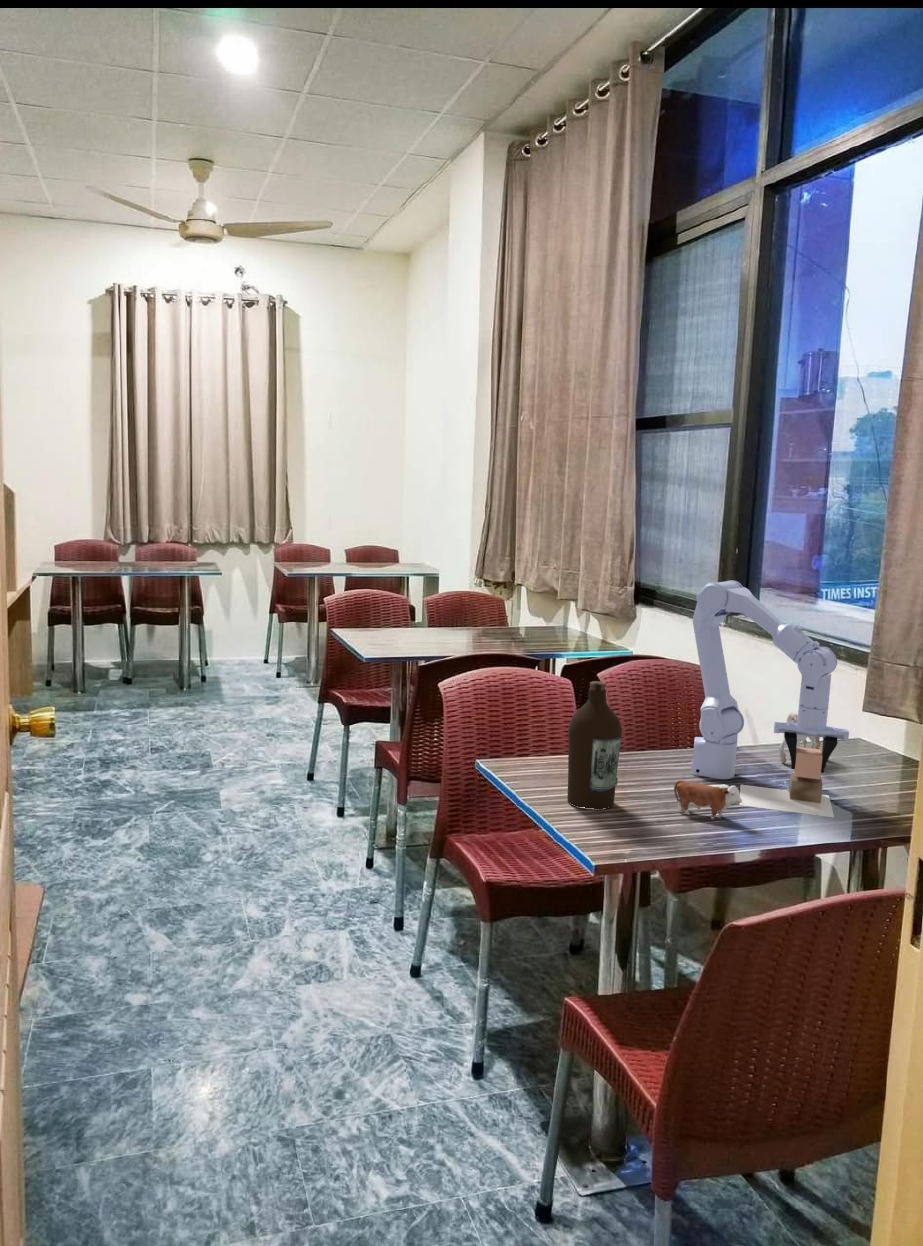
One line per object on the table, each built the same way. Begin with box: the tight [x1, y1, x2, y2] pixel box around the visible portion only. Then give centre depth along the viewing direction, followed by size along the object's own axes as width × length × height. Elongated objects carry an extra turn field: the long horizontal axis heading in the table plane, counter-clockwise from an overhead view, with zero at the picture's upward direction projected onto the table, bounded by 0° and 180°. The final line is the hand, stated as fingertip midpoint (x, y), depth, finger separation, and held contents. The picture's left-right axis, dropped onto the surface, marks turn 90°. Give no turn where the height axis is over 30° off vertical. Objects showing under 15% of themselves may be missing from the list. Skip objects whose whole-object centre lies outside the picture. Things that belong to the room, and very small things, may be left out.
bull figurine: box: [673, 780, 742, 820], centre depth 187 cm, size 4×13×8 cm, turn 58°
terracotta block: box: [793, 746, 823, 779], centre depth 200 cm, size 5×5×5 cm
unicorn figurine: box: [778, 711, 822, 764], centre depth 228 cm, size 7×20×13 cm, turn 149°
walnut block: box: [788, 772, 824, 803], centre depth 201 cm, size 6×6×4 cm
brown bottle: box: [567, 680, 623, 809], centre depth 193 cm, size 11×11×25 cm
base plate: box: [738, 784, 835, 818], centre depth 198 cm, size 18×14×1 cm
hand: (807, 769), depth 200 cm, fingers closed on terracotta block, 5 cm apart
